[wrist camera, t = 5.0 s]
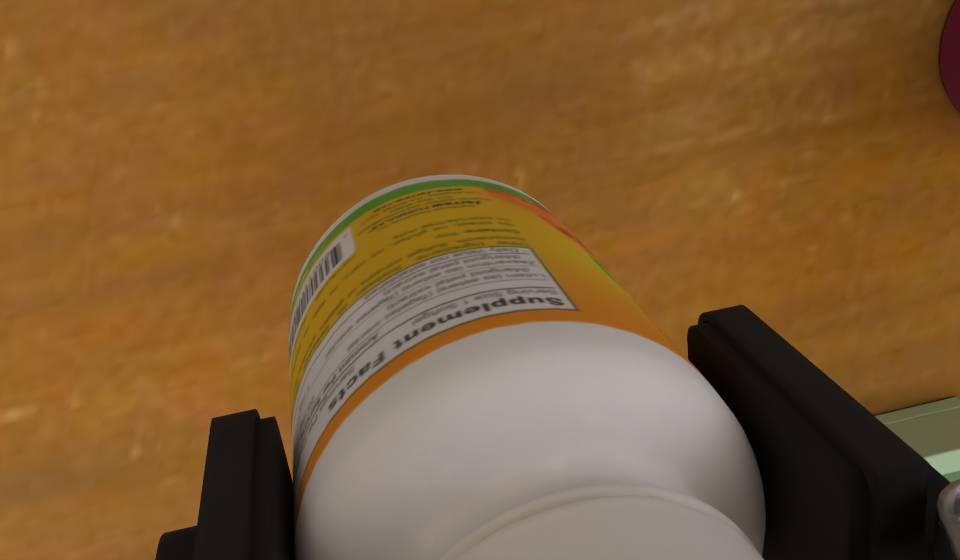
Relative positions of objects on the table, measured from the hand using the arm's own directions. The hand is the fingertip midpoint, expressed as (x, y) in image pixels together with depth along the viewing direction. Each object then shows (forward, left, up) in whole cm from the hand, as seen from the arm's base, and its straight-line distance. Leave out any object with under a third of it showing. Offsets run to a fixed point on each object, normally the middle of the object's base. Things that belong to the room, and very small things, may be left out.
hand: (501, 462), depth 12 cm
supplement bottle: (0, 0, -5) cm, 5 cm away
